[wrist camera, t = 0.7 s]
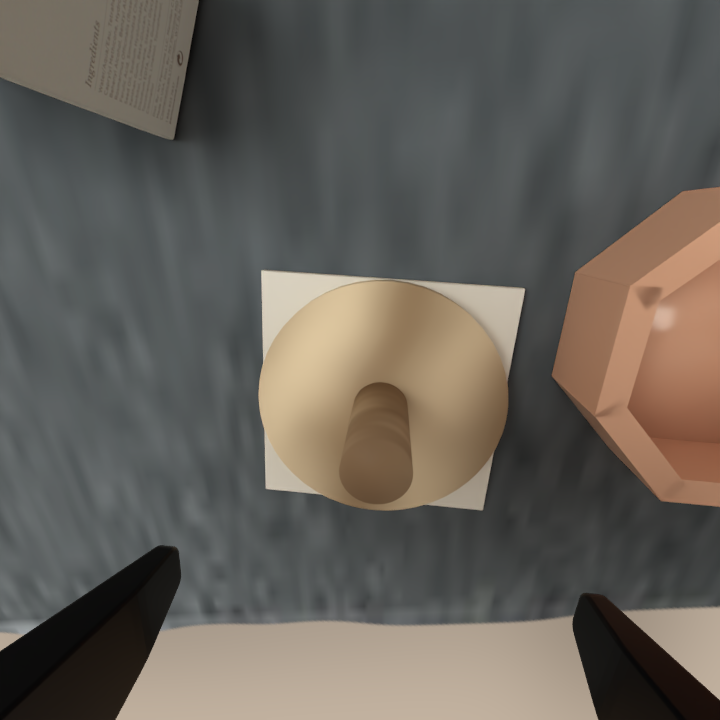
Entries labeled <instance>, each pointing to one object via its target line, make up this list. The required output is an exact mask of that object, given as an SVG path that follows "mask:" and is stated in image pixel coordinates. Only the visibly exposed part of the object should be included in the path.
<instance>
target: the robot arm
mask: <svg viewBox="0 0 720 720" xmlns="http://www.w3.org/2000/svg"><path fill="white" fill-rule="evenodd" d="M180 580H181V568H180V559H179V551H178V549H177V548H176V547H173V546H164V545H160V546H157V547H155V548H154V549H152V550H151V551H149V552H148V553H146V554H145V555H143V556H142V557H140V558H139V559H137V560H136V561H134V562H133V563H131V564H130V565H128V566H127V567H125V568H124V569H122V570H121V571H119V572H118V573H116V574H115V575H113V576H112V577H110V578H109V579H107V580H106V581H104V582H103V583H101V584H100V585H99V586H97V587H96V588H94V589H93V590H91V591H90V592H88V593H87V594H85V595H84V596H82V597H81V598H79V599H78V600H76V601H75V602H73V603H72V604H70V605H69V606H67V607H66V608H64V609H63V610H61V611H60V612H58V613H57V614H55V615H54V616H52V617H51V618H49V619H48V620H46V621H45V622H43V623H42V624H40V625H39V626H37V627H36V628H34V629H33V630H31V631H30V632H28V633H27V634H25V635H24V636H22V637H21V638H19V639H18V640H16V641H15V642H14V643H12V644H10V645H9V646H7V647H6V648H4V649H3V650H1V651H0V720H116V718H117V716H118V714H119V712H120V710H121V708H122V706H123V705H124V703H125V701H126V699H127V697H128V695H129V693H130V691H131V690H132V687H133V686H134V684H135V682H136V680H137V678H138V676H139V675H140V673H141V671H142V669H143V667H144V665H145V663H146V661H147V659H148V657H149V654H150V652H151V650H152V648H153V645H154V643H155V641H156V639H157V636H158V634H159V631H160V629H161V627H162V624H163V622H164V620H165V617H166V615H167V613H168V610H169V608H170V605H171V603H172V601H173V598H174V596H175V594H176V591H177V589H178V587H179V584H180ZM573 632H574V636H575V640H576V643H577V647H578V650H579V654H580V657H581V661H582V665H583V668H584V672H585V675H586V679H587V683H588V686H589V690H590V693H591V697H592V700H593V704H594V707H595V710H596V714H597V717H598V720H720V700H719V699H718V698H717V697H715V696H714V695H713V694H712V693H711V692H710V691H709V690H708V689H707V688H706V687H705V686H703V685H702V684H701V683H700V682H699V681H698V680H697V679H696V678H694V677H693V676H692V675H691V674H690V673H689V672H688V671H687V670H686V669H685V668H684V667H682V666H681V665H680V664H679V663H678V662H677V661H676V660H674V658H672V657H671V656H670V655H669V654H668V653H667V652H666V651H665V650H664V649H663V648H661V647H660V646H659V645H658V644H657V643H656V642H655V641H654V640H653V639H651V638H650V637H649V636H648V635H647V634H646V633H645V632H644V631H643V630H641V629H640V628H639V627H638V626H637V625H636V624H635V623H634V622H633V621H631V620H630V619H629V618H628V617H627V616H626V615H625V614H624V613H623V612H622V611H621V610H619V609H618V608H617V607H616V606H615V605H614V604H613V603H612V602H611V601H609V600H608V599H607V598H606V597H605V596H603V595H600V594H592V593H583V594H582V595H581V596H580V598H579V602H578V605H577V608H576V611H575V614H574V617H573Z"/></svg>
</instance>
